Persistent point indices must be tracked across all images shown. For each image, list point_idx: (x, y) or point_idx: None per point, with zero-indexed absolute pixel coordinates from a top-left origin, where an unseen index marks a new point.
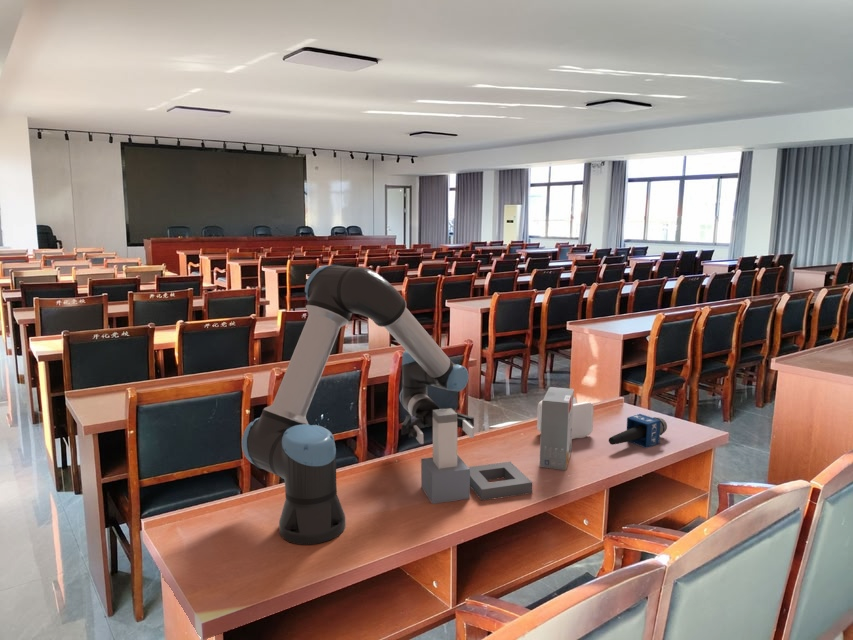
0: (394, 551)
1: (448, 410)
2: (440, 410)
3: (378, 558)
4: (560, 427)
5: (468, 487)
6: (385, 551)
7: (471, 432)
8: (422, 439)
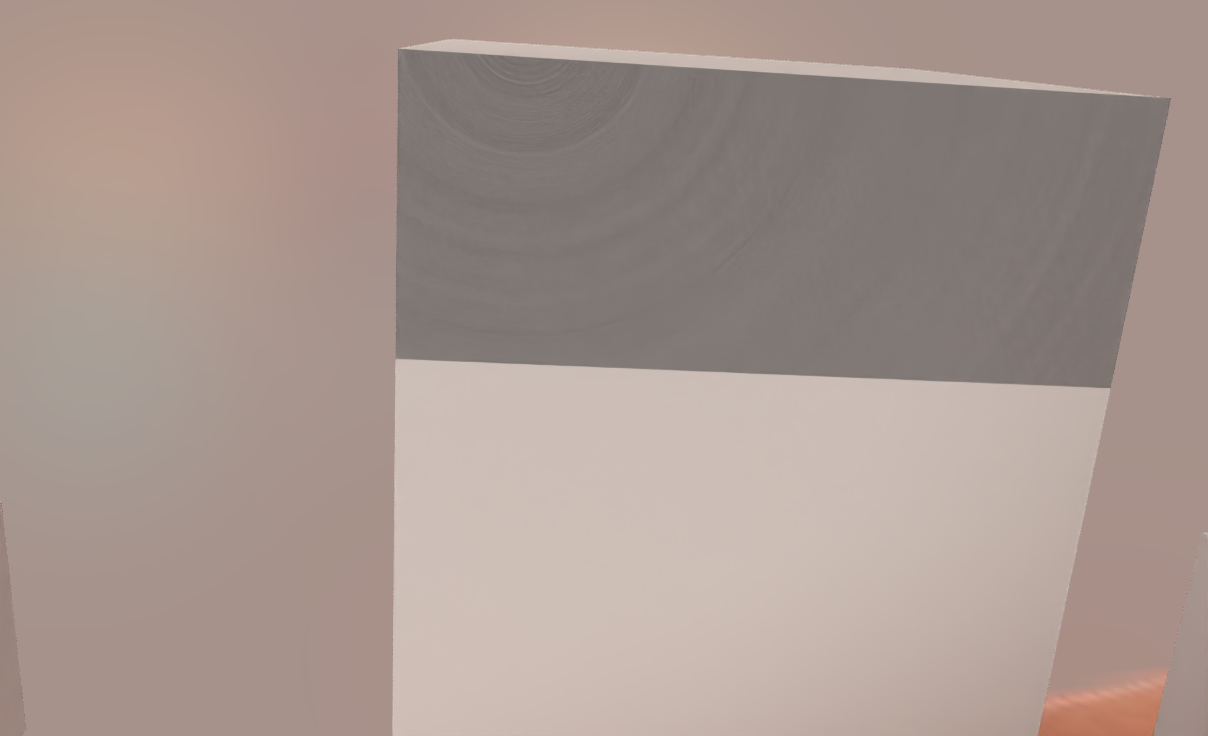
0: (1079, 708)
1: (587, 53)
2: (855, 74)
3: (1157, 684)
4: None
5: None
6: (1137, 719)
7: (8, 602)
8: (1194, 653)
